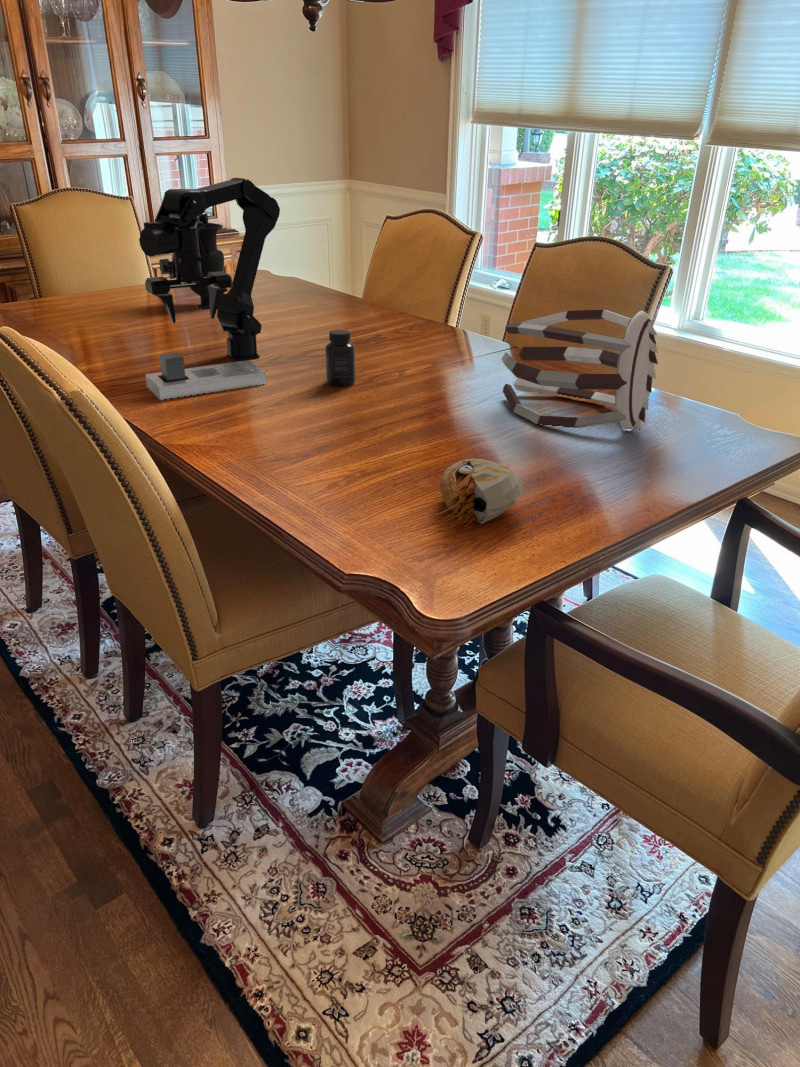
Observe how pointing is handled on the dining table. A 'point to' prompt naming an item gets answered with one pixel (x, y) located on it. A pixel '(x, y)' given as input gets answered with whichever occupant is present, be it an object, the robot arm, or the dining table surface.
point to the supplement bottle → (340, 359)
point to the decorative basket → (630, 363)
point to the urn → (208, 257)
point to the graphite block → (172, 367)
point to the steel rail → (208, 380)
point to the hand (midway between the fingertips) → (193, 320)
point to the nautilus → (478, 490)
